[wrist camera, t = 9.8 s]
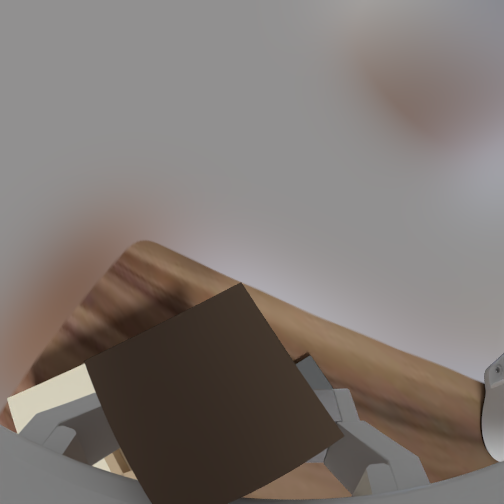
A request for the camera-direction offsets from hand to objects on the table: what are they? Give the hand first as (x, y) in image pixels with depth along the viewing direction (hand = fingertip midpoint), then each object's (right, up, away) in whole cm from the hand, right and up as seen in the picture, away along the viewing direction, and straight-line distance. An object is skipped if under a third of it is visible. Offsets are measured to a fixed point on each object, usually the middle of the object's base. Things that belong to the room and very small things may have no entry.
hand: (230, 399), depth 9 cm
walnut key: (0, -4, +5) cm, 7 cm away
